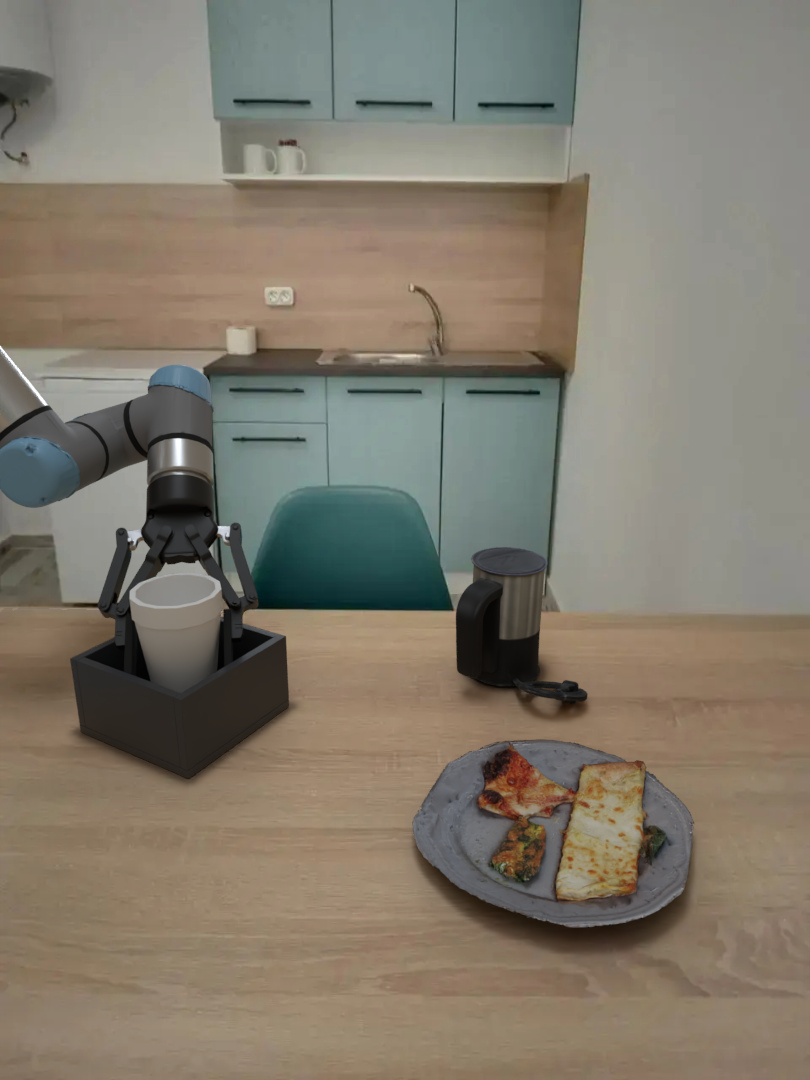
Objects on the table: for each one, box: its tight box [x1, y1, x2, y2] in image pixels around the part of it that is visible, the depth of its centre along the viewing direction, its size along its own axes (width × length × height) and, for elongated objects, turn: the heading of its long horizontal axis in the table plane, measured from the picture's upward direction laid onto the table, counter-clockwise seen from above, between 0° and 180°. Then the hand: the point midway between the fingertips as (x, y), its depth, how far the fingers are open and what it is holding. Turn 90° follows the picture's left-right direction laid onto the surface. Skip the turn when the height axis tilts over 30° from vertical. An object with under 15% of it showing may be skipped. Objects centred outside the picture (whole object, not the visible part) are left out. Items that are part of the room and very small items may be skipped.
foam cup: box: [129, 572, 224, 693], centre depth 89 cm, size 10×9×13 cm
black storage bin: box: [69, 616, 290, 780], centre depth 91 cm, size 16×16×9 cm
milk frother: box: [455, 546, 589, 705], centre depth 98 cm, size 14×16×15 cm
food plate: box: [412, 738, 695, 929], centre depth 74 cm, size 25×23×4 cm
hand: (179, 674), depth 87 cm, fingers closed on foam cup, 9 cm apart
